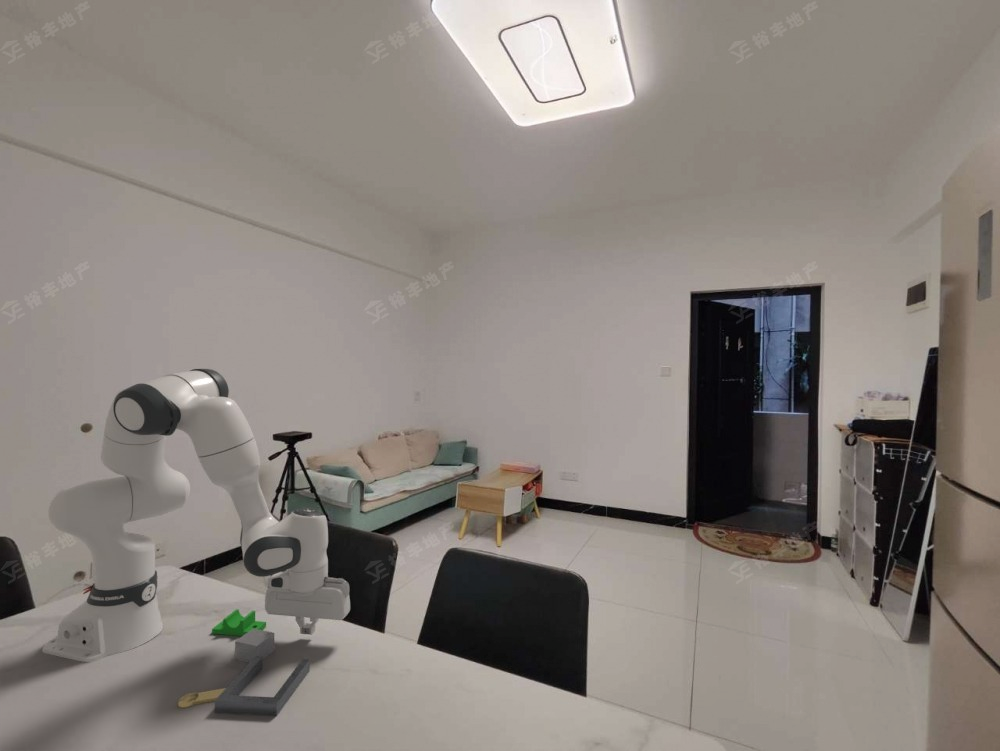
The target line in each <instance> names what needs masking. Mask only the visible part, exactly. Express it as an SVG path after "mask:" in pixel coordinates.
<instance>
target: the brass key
mask: <svg viewBox="0 0 1000 751" xmlns="http://www.w3.org/2000/svg"><path fill="white" fill-rule="evenodd" d="M226 688H227V687H223V688H219V689H218V688H217V689H211V690H207V691H202V692H194V691H193V692H190V693H189V692H188V693H186V694H184V695H183V696H181V697H180V698H179V699H178V703H177V706H178V708H180V709H185V708H189V707H191V706H195V705H200V704H206V703H210V702H215V700H216V699H217V698H218V696H219V695H220V694H221V693H222V692H223V691H224V690H225V689H226Z"/></svg>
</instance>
